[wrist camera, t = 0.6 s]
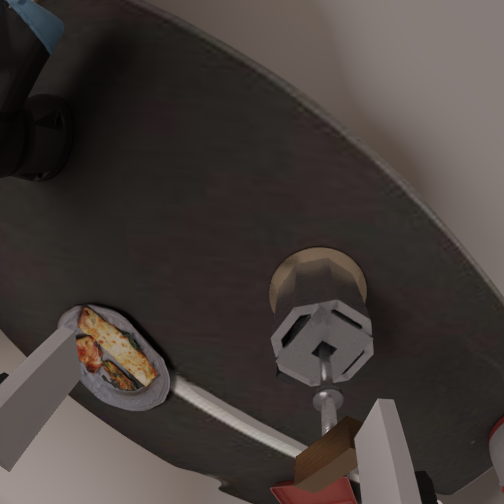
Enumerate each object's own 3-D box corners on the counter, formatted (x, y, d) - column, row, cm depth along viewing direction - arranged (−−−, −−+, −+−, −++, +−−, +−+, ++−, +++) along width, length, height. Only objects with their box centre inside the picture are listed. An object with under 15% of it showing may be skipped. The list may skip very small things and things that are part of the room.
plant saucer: (357, 497, 62) (358, 507, 59) (291, 507, 66) (290, 517, 63) (346, 465, 58) (347, 476, 55) (270, 477, 62) (268, 488, 59)
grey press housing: (247, 310, 48) (228, 370, 34) (304, 226, 43) (307, 263, 29) (323, 353, 49) (328, 419, 35) (384, 279, 44) (414, 332, 30)
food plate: (46, 332, 57) (37, 341, 54) (99, 275, 50) (89, 283, 47) (125, 414, 62) (119, 425, 58) (196, 379, 55) (191, 391, 52)
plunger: (279, 340, 36) (260, 479, 18) (315, 295, 34) (324, 431, 16) (328, 367, 37) (336, 502, 19) (365, 325, 34) (402, 459, 17)
